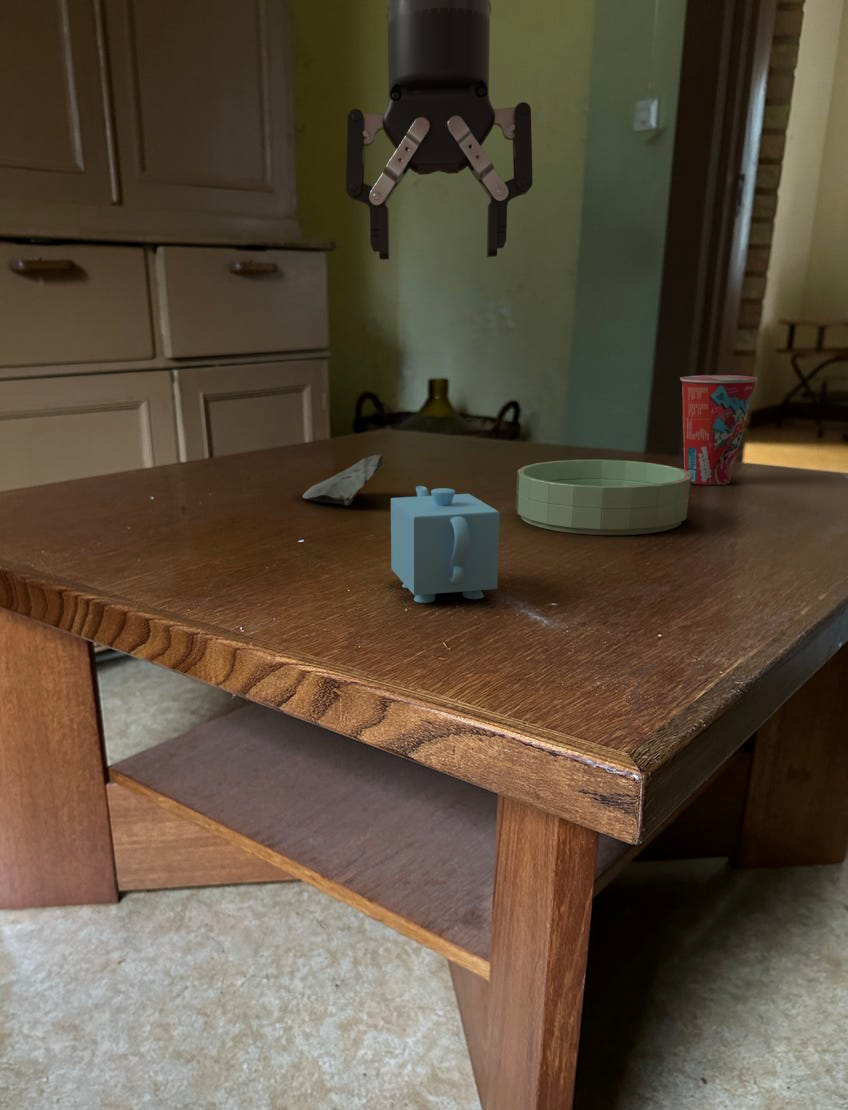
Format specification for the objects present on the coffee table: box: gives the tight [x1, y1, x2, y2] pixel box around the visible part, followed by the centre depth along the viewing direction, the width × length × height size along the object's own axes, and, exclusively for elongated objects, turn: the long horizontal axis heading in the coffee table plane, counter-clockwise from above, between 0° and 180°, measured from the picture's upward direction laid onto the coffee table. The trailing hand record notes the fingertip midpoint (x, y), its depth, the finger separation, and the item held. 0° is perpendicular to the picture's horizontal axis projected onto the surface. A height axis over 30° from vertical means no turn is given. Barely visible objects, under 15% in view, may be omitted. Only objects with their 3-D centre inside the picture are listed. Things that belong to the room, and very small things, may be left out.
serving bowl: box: [515, 459, 692, 536], centre depth 90 cm, size 16×16×4 cm
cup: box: [679, 374, 759, 486], centre depth 107 cm, size 9×8×12 cm
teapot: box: [390, 485, 501, 604], centre depth 67 cm, size 12×6×8 cm, turn 11°
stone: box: [302, 454, 383, 507], centre depth 100 cm, size 11×4×10 cm
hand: (438, 257), depth 72 cm, fingers open, 8 cm apart
